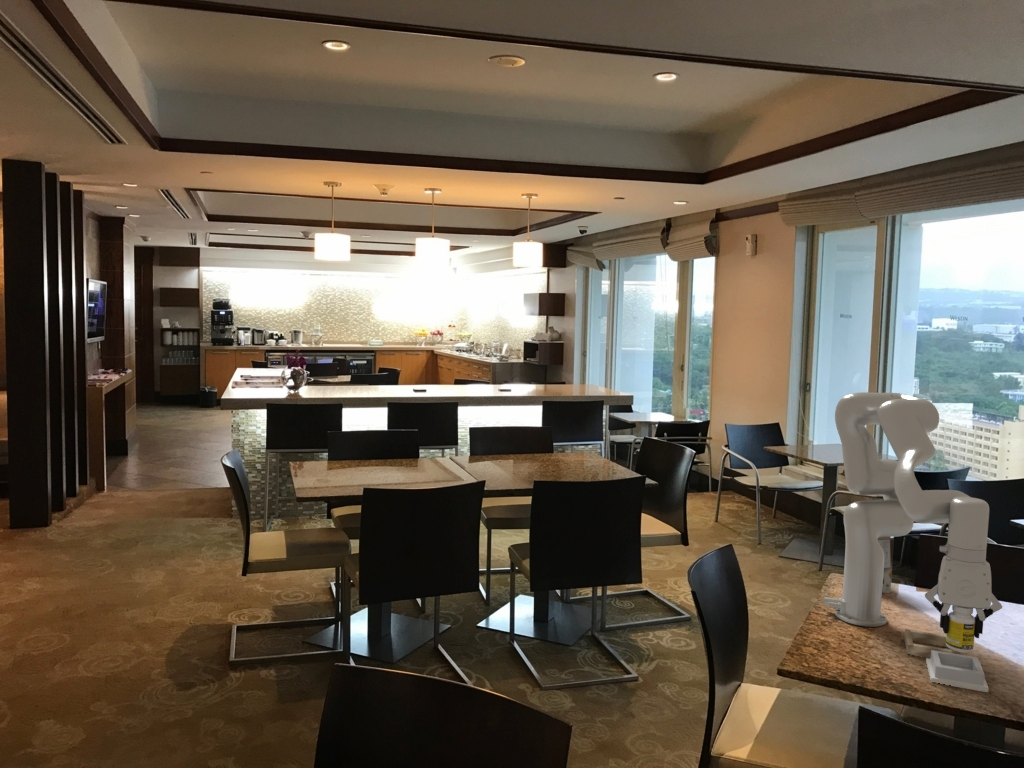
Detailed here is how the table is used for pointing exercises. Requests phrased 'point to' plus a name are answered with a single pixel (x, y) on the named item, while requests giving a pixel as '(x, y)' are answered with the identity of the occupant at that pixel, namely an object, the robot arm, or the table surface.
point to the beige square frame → (924, 638)
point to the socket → (956, 670)
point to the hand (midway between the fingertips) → (960, 632)
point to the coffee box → (887, 561)
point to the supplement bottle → (961, 629)
